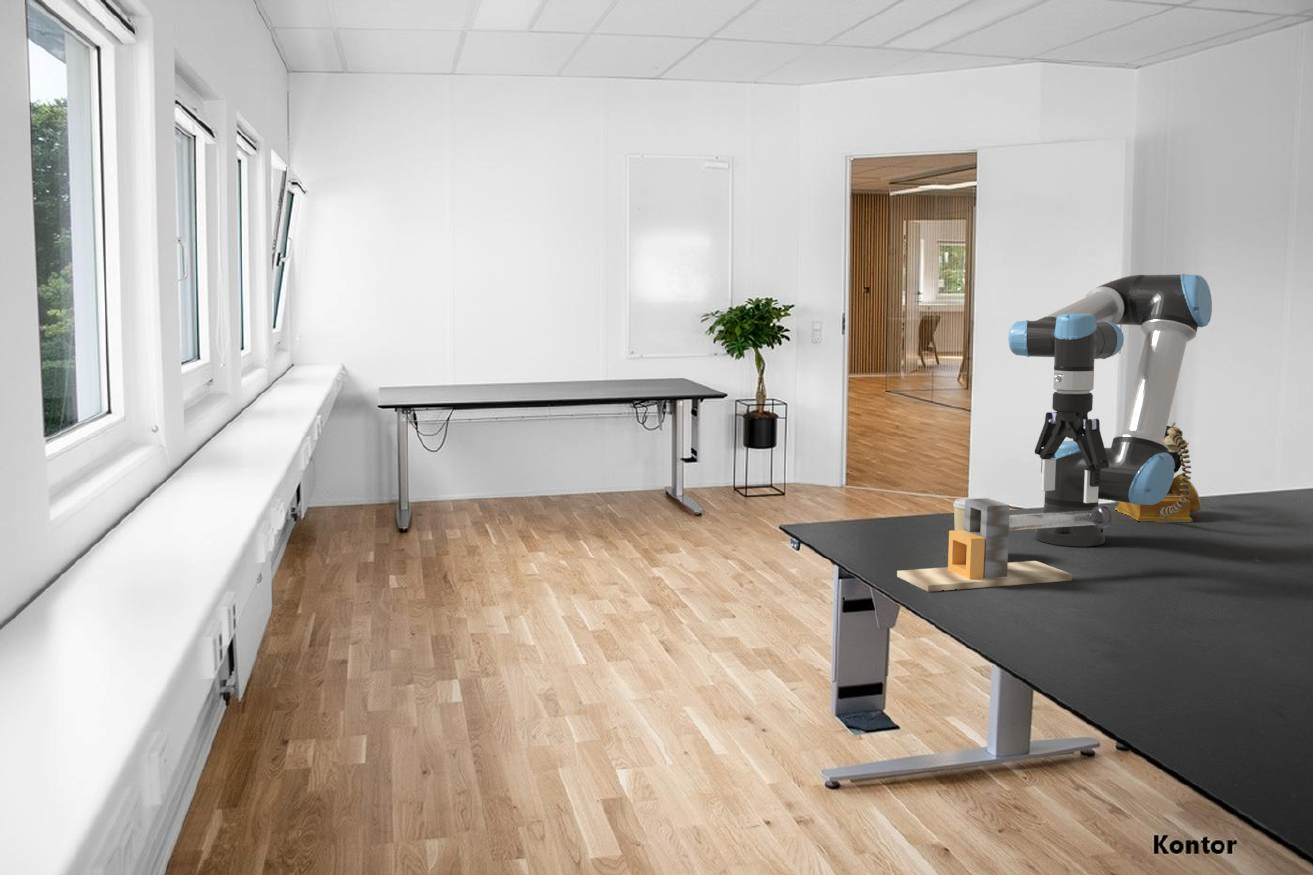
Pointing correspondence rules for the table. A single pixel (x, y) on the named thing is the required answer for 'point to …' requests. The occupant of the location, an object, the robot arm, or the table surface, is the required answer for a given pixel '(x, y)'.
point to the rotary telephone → (1180, 494)
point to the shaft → (1062, 519)
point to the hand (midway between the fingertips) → (1068, 496)
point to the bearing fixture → (986, 555)
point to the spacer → (966, 554)
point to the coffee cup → (960, 513)
